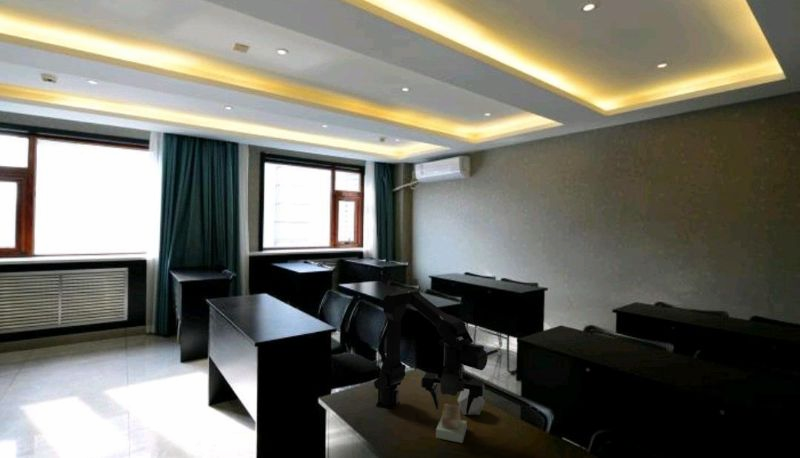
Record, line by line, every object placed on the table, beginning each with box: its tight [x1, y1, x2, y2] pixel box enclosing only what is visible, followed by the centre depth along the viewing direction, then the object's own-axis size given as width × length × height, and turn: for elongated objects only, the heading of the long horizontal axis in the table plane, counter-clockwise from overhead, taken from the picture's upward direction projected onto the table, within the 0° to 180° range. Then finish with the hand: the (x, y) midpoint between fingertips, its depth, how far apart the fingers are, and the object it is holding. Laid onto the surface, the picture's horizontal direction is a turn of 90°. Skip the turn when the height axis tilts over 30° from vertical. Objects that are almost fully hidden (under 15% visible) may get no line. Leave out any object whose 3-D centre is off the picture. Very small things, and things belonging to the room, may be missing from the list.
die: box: [457, 389, 486, 416], centre depth 129 cm, size 8×9×10 cm
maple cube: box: [441, 403, 462, 430], centre depth 117 cm, size 5×5×5 cm
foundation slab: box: [435, 416, 468, 444], centre depth 116 cm, size 8×8×3 cm
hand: (452, 411), depth 116 cm, fingers open, 9 cm apart
